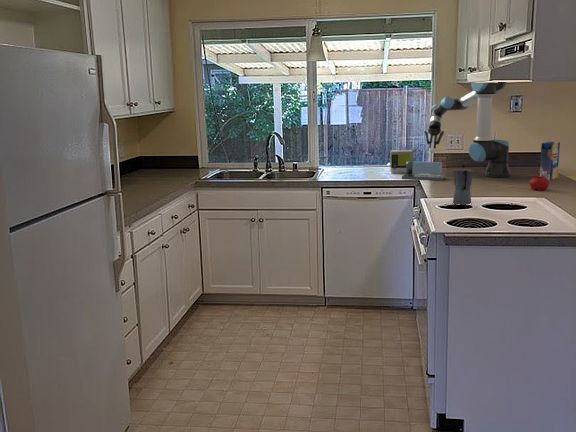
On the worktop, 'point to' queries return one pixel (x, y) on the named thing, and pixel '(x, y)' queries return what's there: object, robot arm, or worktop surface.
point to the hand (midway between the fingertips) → (431, 151)
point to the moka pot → (462, 185)
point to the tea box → (400, 160)
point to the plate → (423, 177)
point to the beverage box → (549, 160)
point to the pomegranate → (539, 183)
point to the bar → (424, 167)
